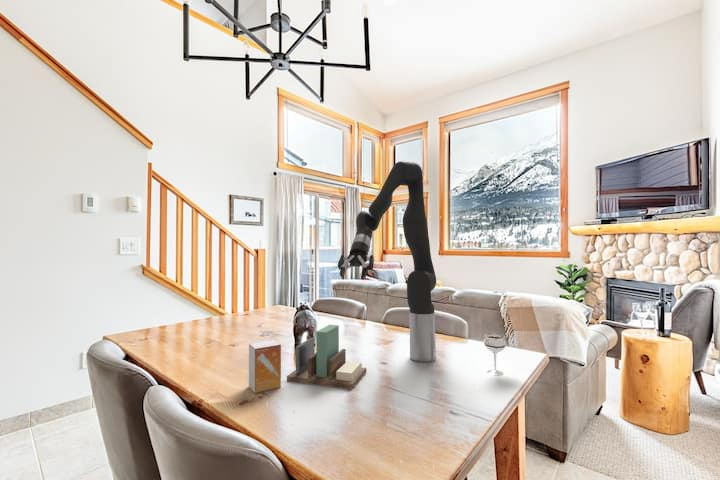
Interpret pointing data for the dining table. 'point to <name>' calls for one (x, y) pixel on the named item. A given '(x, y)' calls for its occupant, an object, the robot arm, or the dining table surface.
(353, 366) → the toppled book
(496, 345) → the wineglass
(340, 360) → the book rack
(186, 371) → the dining table surface
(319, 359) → the book
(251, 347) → the small box
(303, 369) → the bookend
